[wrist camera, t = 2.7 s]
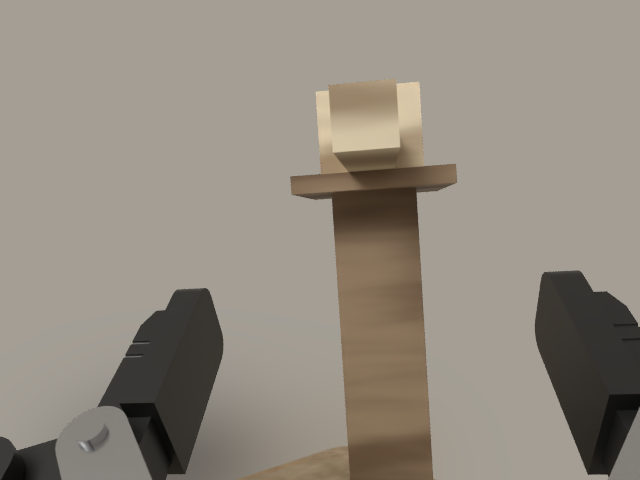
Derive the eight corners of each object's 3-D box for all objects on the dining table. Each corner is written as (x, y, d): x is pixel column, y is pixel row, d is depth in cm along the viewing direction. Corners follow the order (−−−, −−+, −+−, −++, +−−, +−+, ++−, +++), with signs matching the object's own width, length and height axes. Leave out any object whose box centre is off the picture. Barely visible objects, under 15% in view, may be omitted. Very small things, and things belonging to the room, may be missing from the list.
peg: (448, 143, 19) (440, 3, 18) (286, 156, 19) (277, 22, 19) (417, 176, 36) (413, 103, 35) (331, 183, 36) (326, 112, 36)
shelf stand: (496, 736, 29) (465, 163, 27) (319, 726, 30) (281, 177, 29) (467, 602, 39) (443, 176, 37) (335, 598, 40) (307, 186, 39)
